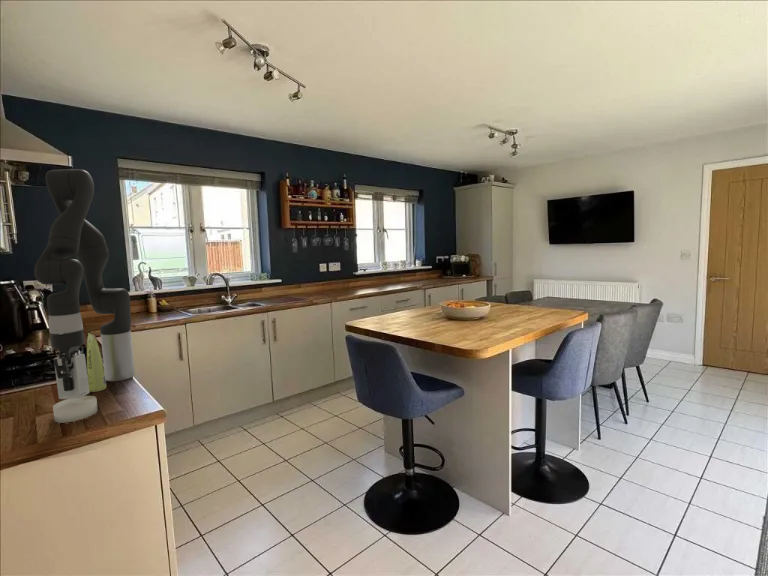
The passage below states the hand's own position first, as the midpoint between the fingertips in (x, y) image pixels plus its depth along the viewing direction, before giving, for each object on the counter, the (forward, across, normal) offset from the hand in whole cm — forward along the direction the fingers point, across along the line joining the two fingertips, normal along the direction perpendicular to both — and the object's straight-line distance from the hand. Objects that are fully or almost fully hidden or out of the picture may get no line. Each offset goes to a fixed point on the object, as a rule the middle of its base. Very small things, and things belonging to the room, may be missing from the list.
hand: (73, 386), depth 115 cm
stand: (+9, 0, 0) cm, 9 cm away
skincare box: (+3, 0, 0) cm, 3 cm away
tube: (+9, -22, -1) cm, 24 cm away
